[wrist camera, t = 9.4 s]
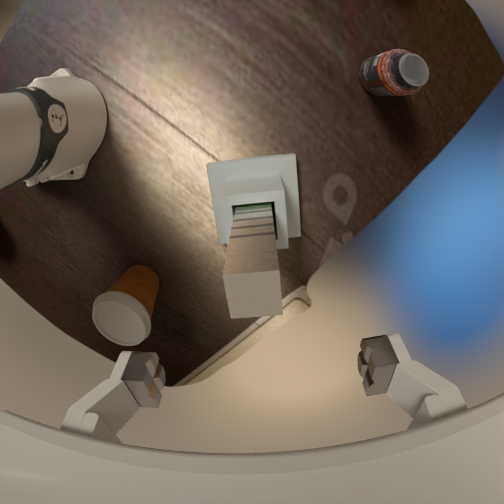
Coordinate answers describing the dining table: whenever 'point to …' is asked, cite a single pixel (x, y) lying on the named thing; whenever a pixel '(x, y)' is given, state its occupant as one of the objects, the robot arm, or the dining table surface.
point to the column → (252, 263)
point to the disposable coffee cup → (127, 306)
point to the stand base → (256, 192)
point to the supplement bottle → (394, 73)
